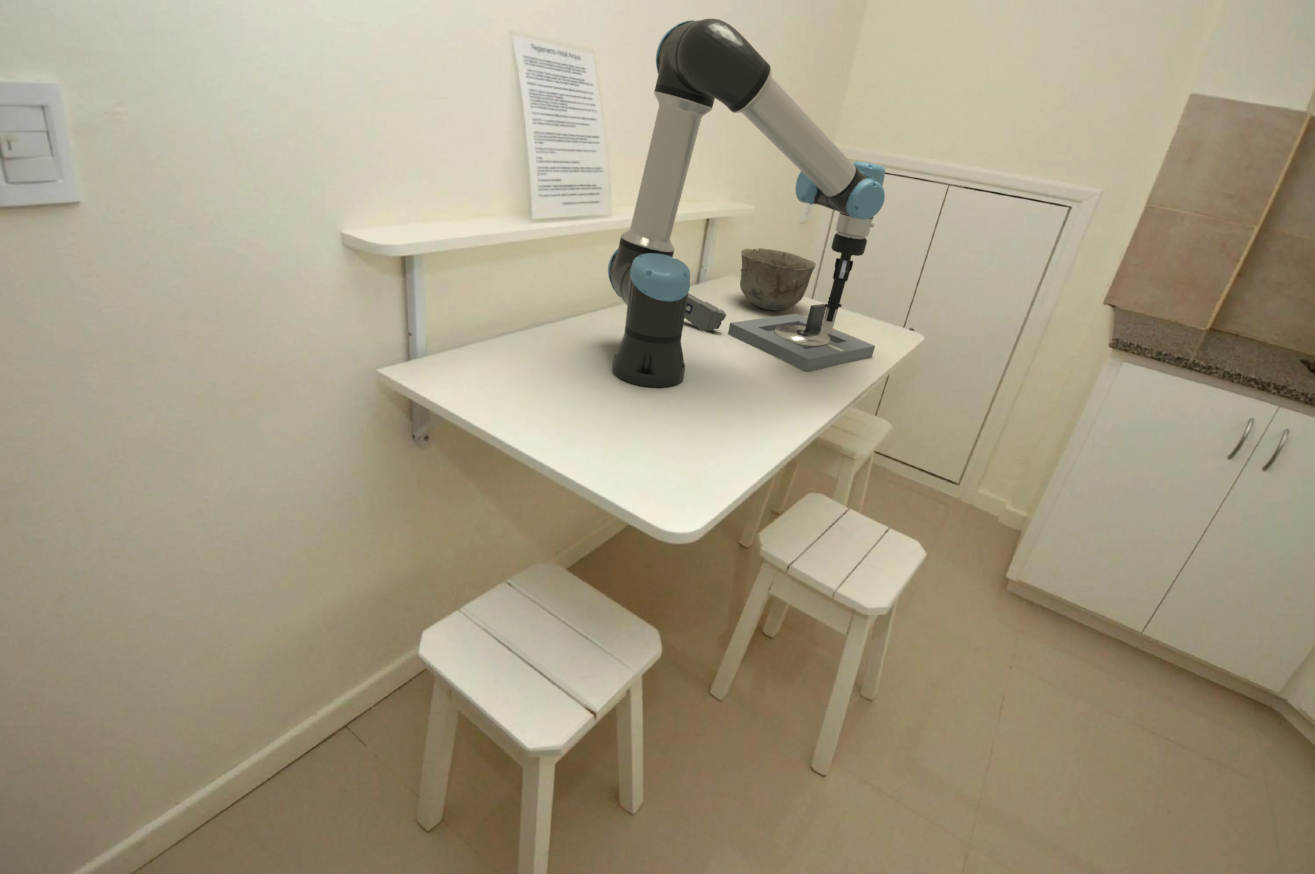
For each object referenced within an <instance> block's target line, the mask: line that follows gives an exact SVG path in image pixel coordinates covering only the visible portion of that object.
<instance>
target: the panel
mask: <svg viewBox="0 0 1315 874" xmlns="http://www.w3.org/2000/svg"><path fill="white" fill-rule="evenodd" d="M807 319H808V317H806V316H804V315H801V314H800V313H792V314H790V313H789V314H786V315H783V314H782V315H778V316H769V317H763V318H756V319H747V320H739V321H733V322H729V327H728V331H727V332H728V333H727V335H729V336H731V337H733V338H736V339H738V340H740V341H741V342H744V343H746V344H747V345H749V346H751V347H754V348H757V350H760V351H762V352H765V353H766V354H769V355H771V356H772V357H775V358H777V359H779V360H781V361H783V362H785V363H787V364H789V365H792V366H794V367H795V368H798V369H800V370H801V371H804V372H810V371H815V370H819V369H823V368H828V367H833V366H836V365H841V364H847V363H851V362H855V361H859V360H864V359H869V358H872V357H873V354H874V351H875V349H876V345H874V344H872V343H870V342H867V341H864V340H863V339H860V338H857V337H855V336H853V335H850V334H848V333H845V332H843V331H840V330H838V329H836V328H834V327H833V330H832V334H831V335H830V334H827V335H828V336H829V337H830V343H829V345H825V346H820V347H814V348H809V349H805V348H803V347H801V346H798V345H796V344H794V343H792V342H790V341H787V340H785V339H783V338H781V337H778V336H776V335H774V330H775V327H777V326H779V325H800V326H805V327H806V323H807Z"/></svg>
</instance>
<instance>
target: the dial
mask: <svg viewBox="0 0 1315 874" xmlns="http://www.w3.org/2000/svg"><path fill="white" fill-rule="evenodd" d="M825 304H826V303H819V304H813V305H810V308H809V312H808V314H807V315H808V316H807V318H808V319H807V323H806V327H805V326H800V325H779V326H777V327H775V330H774V335H776V336H778V337H781V338H783V339H785V340H787V341H790V342H792V343H794V344H796V345H798V346H801V347H803V348H805V349H809V348H814V347H820V346H825V345H829V343H830V337H829V336H828V335H827V334H825V333H820V331H821V327H822V323H823V319H824V316H825V312H826V308H827V307H824V306H825Z"/></svg>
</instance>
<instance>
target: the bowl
mask: <svg viewBox="0 0 1315 874" xmlns="http://www.w3.org/2000/svg"><path fill="white" fill-rule="evenodd" d="M740 252H741V269H740V273H741V275H740V281H739V286H740V290H741V292H742V294H743V296H744V297H745V299H747V301H749V302H750V303H751V304H753V305H754V306H756V307H757V308H760V309H763V310H765V311H766V310H767V311H783V310H788V309H790V308H793V307H795V305H797V304H798V303H799V302H800V301H802V299H803V298H804V296H805V293H806V291H807V288H808V286H809V283H810V280H811V276H812V274H813V273H814V270H815V268H816V266H817V264H816V262H815V261H813V260H810V259H807V258H805V257H803V256H800V255H796V254H793V253H790V252H786V251H781V250H775V249H771V248H770V249H769V248H762V247H761V248H752V249H750V248H744V249H741V250H740Z"/></svg>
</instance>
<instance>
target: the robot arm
mask: <svg viewBox="0 0 1315 874" xmlns="http://www.w3.org/2000/svg"><path fill="white" fill-rule="evenodd" d="M656 49H657V50H656V52H655V53H656V54H655V66H656V71H657V78H656V83H655V88H654V92H653V94H654V96H655V98H656V100H657V103H658V109H657V113H656V117H655V122H654V126H653V131H652V134H651V140H650V143H649V148H648V151H647V155H646V160H645V165H644V168H643V173H642V177H641V181H640V185H639V190H638V194H637V198H636V202H635V206H634V212H633V215H632V219H631V220H632V221H631V225H630V228H628V230H626V231H624V232H623V233H622V234H621V236H620V240H619V244H618V248H617V249H615V250H614V252H613V254H612V255H611V256H610V259H609V262H608V266H607V275H608V279H609V282H610V285H611V288H612V289H613V291H614V292H615V293H616V295H617V296H618V297H619V298H621V300H622V301H623V302H624V303H625V305H626V313H625V314H626V316H625V326H624V333H623V337H622V339H621V341H620V343H619V346H618V348H617V351H616V353H615V354H614V356H613V359H612V369H611V370H612V372H613V373H614V375H615V376H616V377H617V378H619V379H621V380H623V381H624V382H626V383H627V382H628V383H630V384H634V385H636V386H637V385H638V386H641V387H649V388H650V387H651V388H667V387H672V386H676V385H678V384H681V382H683V380H684V378H685V372H686V365H685V363H684V362H685V361H684V359H685V358H684V354H683V353H684V352H683V349H682V336H683V331H684V330H683V329H684V322H685V318H684V317H685V311H686V305H687V299H688V293H689V291H690V288H691V281H690V280H691V272H690V268H689V266H688V265H686V263H685V262H683V261H681V260H680V259H679V258H675V257H674V253H675V247H674V245H673V244H672V242H671V237H672V232H673V228H674V224H675V220H676V218H677V217H676V216H677V213H678V210H679V207H680V202H681V198H682V195H683V194H682V193H683V192H684V191H683V190H684V186H685V182H686V178H687V175H688V171H689V167H690V164H691V159H692V156H693V152H694V149H695V144H696V140H697V137H698V132H699V129H700V126H701V125H700V124H701V121H702V118H703V117H704V116H705V115H707V114H708V113H710V112H711V111H713V107H714V104H715V99H716V100H717V101H719V102H720V103H721V104H723V105H724V106H726V107H727V108H728V110H730V112H732V113H733V114H737V113H738V114H739V113H742V114H743V116H744V117H745V118H747V120H748V121H750V122H751V123H752V124H753V125H754V126H755V127H756V129H758V130H759V131H760V132H761V134H763V135H764V136H765V137H766V138H767V139H768V141H770V142H771V143H772V144H773V145H774V146H775V147H776V148H777V149H778V150H779V151H780V152H781V153H782V154H784V156H785V157H786V158H787V159H788V160H790V162H791V163H792V164H793V165H794V166H795V167H796V168H798V170H799V171H800V172H799V174H798V175H797V178H796V182H795V197H796V198H797V199H798V201H799V202H801V203H802V204H803V203H804V204H809V205H811V206H812V205H819V206H821V207H825V208H827V209H830V210H833V211H836V212H839V215H838V218H837V222H836V226H835V232H836V233H834V235H833V239H832V243H831V250H832V251H833V252H835V253H839V254H840V257H839V258H838V257H837V258H836V259H835V263H834V270H833V276H832V278H833V282H832V287H831V289H830V295H829V296H828V301H827V303H824V304H825V306H824V307H826V311H825V315H824V319H823V323H822V327H821V331H820V333H825V334H830V335H831V334H832V330H833V328H834V326H835V322H836V319H837V315H838V311H839V308H841V307H842V305H843V304H842V303H841V299H842V296H843V292H844V289H845V285H846V282H848V280H849V276H850V272H851V271H852V270H853V265H854V261H853V260H851V259H852V256H854V257H855V256H857V257H859V256H863V255H864V254H865V251H866V247H867V243H868V240H867V238H866V237H868V236H869V235H870V231H871V230H870V229H871V228H874V227H875V223H874V222H873V220H874V217H875V216H877V214H878V213H879V212H880V211H881V209H882V207H883V206H884V204H885V198H886V195H885V194H886V192H885V189H884V187H883V186H884V180H885V175H886V168H885V166H883V165H881V164H878V163H873V162H872V163H871V162H865V161H853V162H852V161H851V160H850V159H849V158H848V157H847V156H846V155H845V154H844V153H843V152H842V151H841V150H840V148H839V147H838V146H837V145H836V144H835V143H834V141H832V140H831V139H830V138H829V137H828V136H827V135H826V133H825V132H824V131H823V130H822V129H821V128H820V127H819V126H818V125H817V124H816V123H815V121H814V120H812V119H811V117H810V116H809V115H808V114H807V113H806V112H805V111H804V110H803V109H802V108H801V106H799V104H798V103H797V102H796V101H795V100H794V99H793V97H791V96H790V95H789V94H788V93H787V91H786V90H784V88H783V87H781V85H780V84H779V82H777V81H776V79H774V78H773V76H772V66H771V65H770V63H768V62H767V61H766V60H765V58H764V57H763V56H762V55H761V54H760V53H759V52H758V51H757V50H756V49H755V48H754V47H753V46H752V44H751V43H750V42H749V41H748V40H747V39H746V38H745V37H744V36H743V35H742V33H740V32H739V31H738V30H737V29H736V28H735V27H733V26H732V25H731V24H729V23H727V22H726V21H723V20H721V19H718V18H704V19H700V20H693V19H692V20H686V21H682V22H679V23H678V24H676V25H674V26H673V27H671V28H670V29H669V30H668V31H667V32H666V33H665V34H664V35H662V37H661V39H660V41H659V44H658V46H657V48H656Z"/></svg>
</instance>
